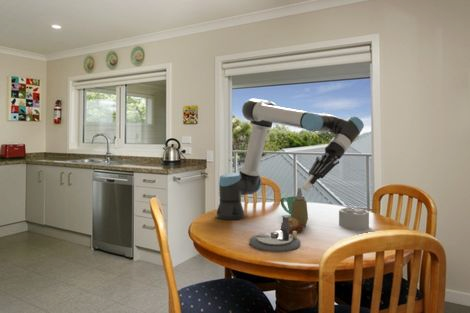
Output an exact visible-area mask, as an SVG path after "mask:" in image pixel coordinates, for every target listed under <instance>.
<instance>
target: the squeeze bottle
mask: <svg viewBox="0 0 470 313" xmlns="http://www.w3.org/2000/svg"><path fill="white" fill-rule="evenodd" d="M296 192H297V193H296V194H295V195H294V197H295V200H293V203H292V213H291V215H290V217H292V218H296V219H298V220H299V221H300V222H301V223H302V224H303V227H305V226H306V225H307V222H308V220H309V215H308V205H307V200H306V199H305V200H304V198H305V195H303V194H302V193H303V191H302V187H298V188H297V191H296Z"/></svg>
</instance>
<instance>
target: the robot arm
mask: <svg viewBox="0 0 470 313" xmlns="http://www.w3.org/2000/svg"><path fill="white" fill-rule="evenodd" d="M241 112H242V115H243V117H244V118H245V119H246V120H248V121H250V124H251V126H252V127H251V131H250V132H251V133H250V137H249V141H248V146H247V150H246V154H245V159H244V163H243V166H242V167H241V168H240V169H239V172H227V173H224V174H221V175H220V176H219V182H218V186H219V191H218V193H219V205H218V207H217V211H216V218H217V219H220V220H224V221H232V220H233V221H236V220H240V219H243V218H245V211H244V207H243V204H242V196H247V195H252V194H256V193H257V192H258V191H259V190H260V189H261V188H262V183H263V181H262V178H261V176H260V175H261V173H260V171H259V168H260V165H261V160H262V156H263V152H264V148H265V144H266V140H267V134H268V131H269V130H270V129H271V128H272V126H273V123H274V124H279V125H283V126H284V125H285V126H288V127H294V128H298V129H303V130H305V131H309V132H323V133H324V132H327V133H330V134H334V136H333V137H332V139H331V140H330V141H329V143H328V144H327V145H326V146H325V148H324V152H325V153H323V154H322V155H321V157H319V156H316V158H315V161H314V162H313V164H312V165H311V168H310V169H309V171H308V174H309V176H308V178H306V181H305V182H304V183H303V184H302V185H301V189H303V190H304V191H305V192H309V190H311V188H313V187H312V186H313V185H314V184H315V183H316V182H317V181H318V180H319V179H323V178H324V177H325V176H326V175H327V174H328V173H329V172H331V171H332V169H334V167H335V166H337V165H338V164H340V159H341V158H342V157H343V155H344V154H345V152H346V151H347V150H348V149H349V148H350V147H351V145H352V143H353V142H354V141H355V140H356V139H357V137H358V136H359V135H360V133H362V130H363V129H364V127H365V124H364V122H363V121H362V120H361V118H359V117H357V116H350V117H348V118H347V119H345V118H340V117H338V116H335V115H333V114H331V113H326V112H321V113H318V112H317V113H316V112H310V111H304V110H300V109H299V110H298V109H293V108H287V107H281V106H277V103H275V102H274V101H270V100H266V99H258V98H250V99H248V100H246V101H245V102H244V103H243V105H242V107H241Z"/></svg>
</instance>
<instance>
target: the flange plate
mask: <svg viewBox="0 0 470 313" xmlns="http://www.w3.org/2000/svg"><path fill="white" fill-rule="evenodd" d="M289 217H290V216H289V215H282V222H283V232H282V231H281V230H276V231H266V232H264V231H263V232H261V233H259V234H256V235H257V241H258V242H260V243H262V244H265V245H273V246H280V245H287V244H290V243H291V242H292V236H293V235H292V234H289Z"/></svg>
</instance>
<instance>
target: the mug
mask: <svg viewBox="0 0 470 313" xmlns="http://www.w3.org/2000/svg"><path fill="white" fill-rule="evenodd" d="M284 200H285V201H286V204H287V206H286V205H285V203H284V202H285V201H284ZM293 200H295V196H287V197H285V196H283V197H282V198H280V206H281V207H282V209H283V210H284V211H285V213H287V214H289V215H290V216H291V213H292V203H293ZM304 200H306V198H305V197H304Z"/></svg>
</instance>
